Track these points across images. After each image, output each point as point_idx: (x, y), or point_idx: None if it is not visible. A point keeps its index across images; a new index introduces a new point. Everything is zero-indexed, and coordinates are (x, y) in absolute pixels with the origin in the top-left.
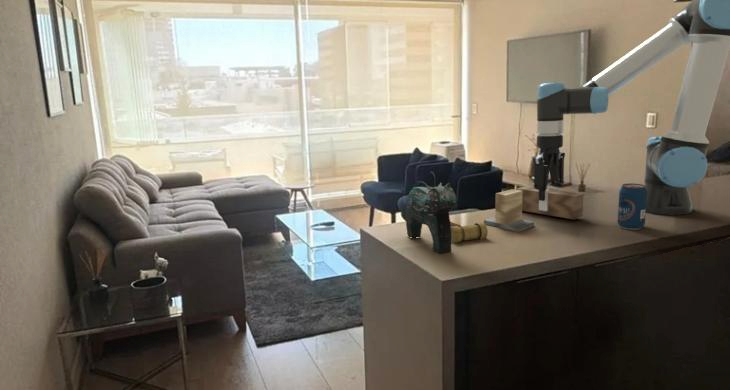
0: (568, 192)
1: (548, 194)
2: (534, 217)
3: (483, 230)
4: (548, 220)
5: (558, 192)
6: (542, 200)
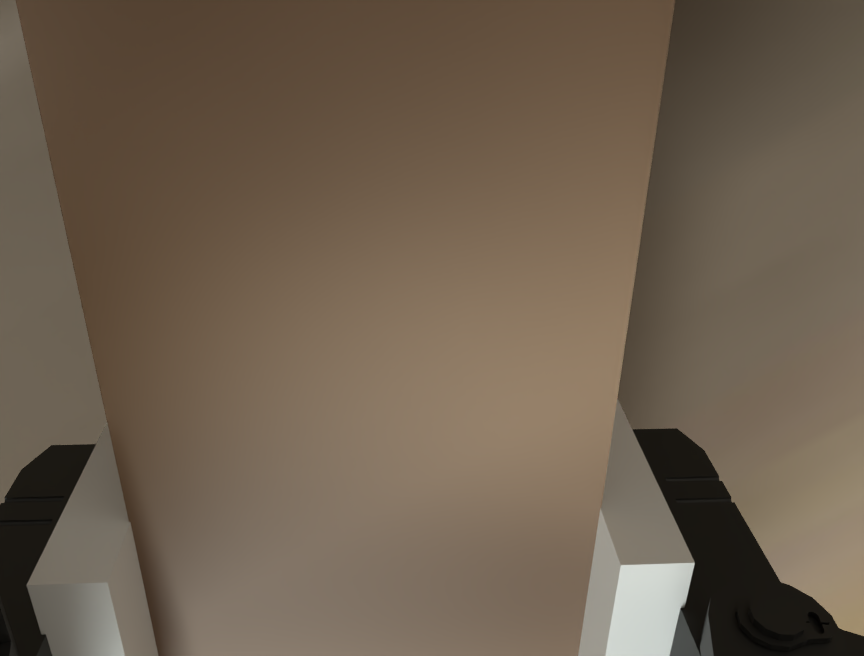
0: (178, 94)
1: (593, 471)
2: (624, 363)
3: None
4: (670, 124)
5: (393, 344)
6: (683, 441)
